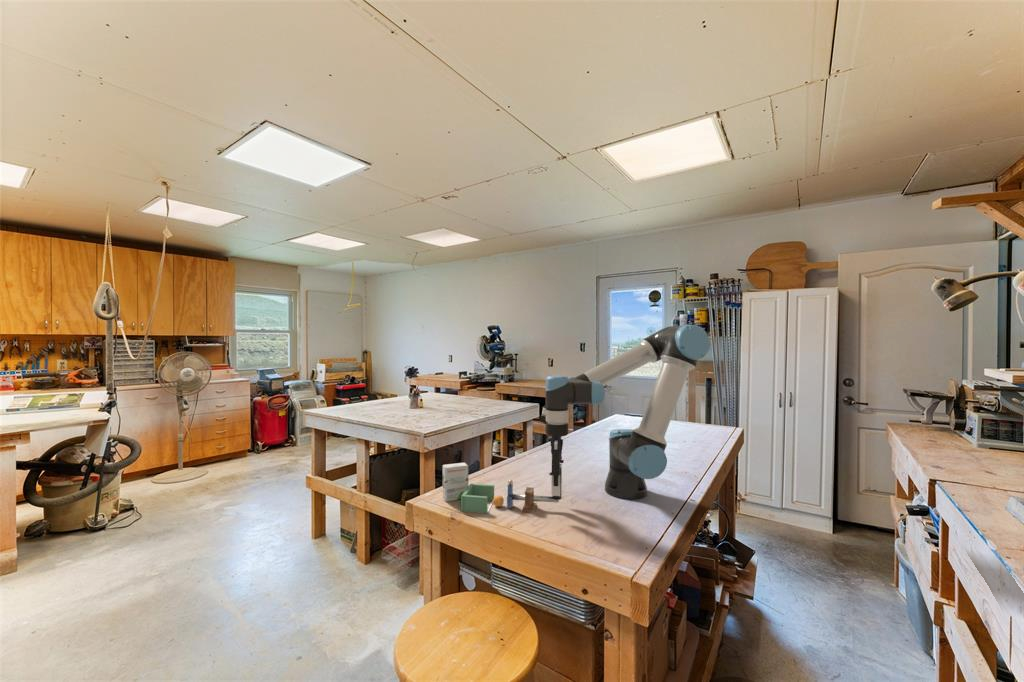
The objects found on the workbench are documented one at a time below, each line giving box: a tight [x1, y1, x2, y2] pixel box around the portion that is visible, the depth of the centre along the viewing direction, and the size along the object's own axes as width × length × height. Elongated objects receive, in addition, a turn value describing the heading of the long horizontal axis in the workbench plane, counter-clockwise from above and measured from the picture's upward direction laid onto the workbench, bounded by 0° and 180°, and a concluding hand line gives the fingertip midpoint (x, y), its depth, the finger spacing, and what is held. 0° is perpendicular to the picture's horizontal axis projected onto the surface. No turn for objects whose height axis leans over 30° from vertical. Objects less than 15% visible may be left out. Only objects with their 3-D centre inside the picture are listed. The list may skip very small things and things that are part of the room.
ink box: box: [442, 462, 469, 503], centre depth 140 cm, size 9×5×12 cm, turn 112°
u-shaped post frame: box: [506, 467, 563, 509], centre depth 131 cm, size 18×3×14 cm, turn 81°
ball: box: [493, 495, 505, 508], centre depth 133 cm, size 4×4×4 cm
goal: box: [460, 483, 495, 514], centre depth 134 cm, size 9×12×5 cm
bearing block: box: [521, 486, 537, 514], centre depth 131 cm, size 4×7×6 cm, turn 171°
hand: (556, 488), depth 130 cm, fingers open, 11 cm apart
